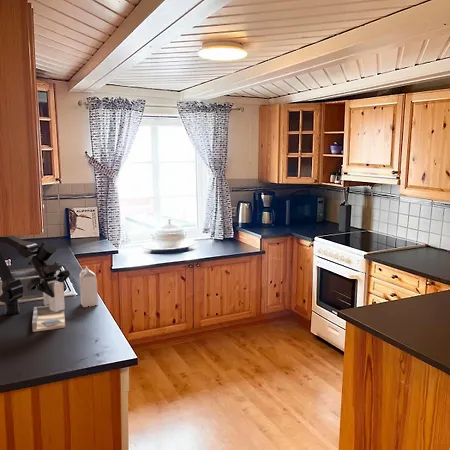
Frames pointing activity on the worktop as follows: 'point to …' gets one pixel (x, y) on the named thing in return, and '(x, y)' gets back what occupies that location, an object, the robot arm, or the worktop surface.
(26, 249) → the robot arm
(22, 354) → the worktop surface
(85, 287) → the milk carton
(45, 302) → the syrup box
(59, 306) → the aluminium post
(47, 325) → the corner arena
